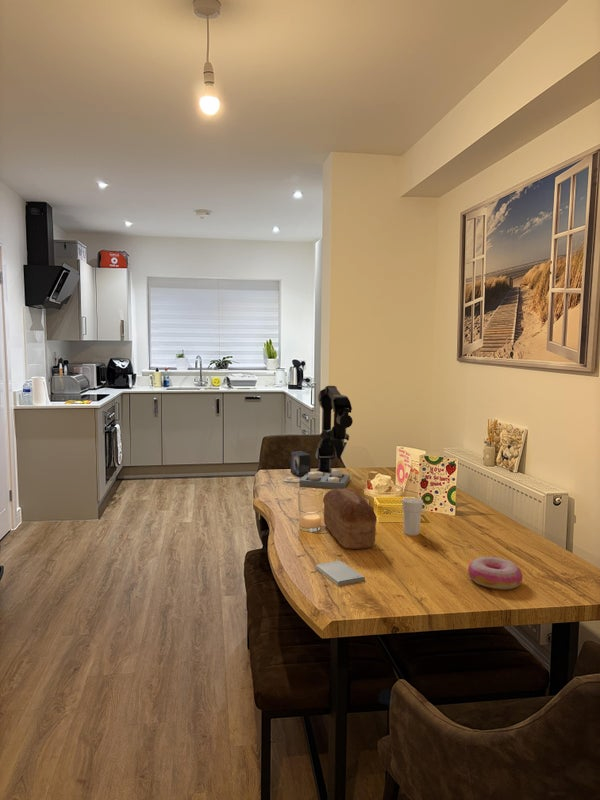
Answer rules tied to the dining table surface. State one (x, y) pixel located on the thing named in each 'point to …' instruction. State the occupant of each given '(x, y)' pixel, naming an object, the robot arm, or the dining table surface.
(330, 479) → the button
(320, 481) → the board
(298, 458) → the small box
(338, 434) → the robot arm
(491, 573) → the donut
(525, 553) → the dining table surface
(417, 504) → the cup
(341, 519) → the bread
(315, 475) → the button
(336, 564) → the hard drive
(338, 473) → the button
